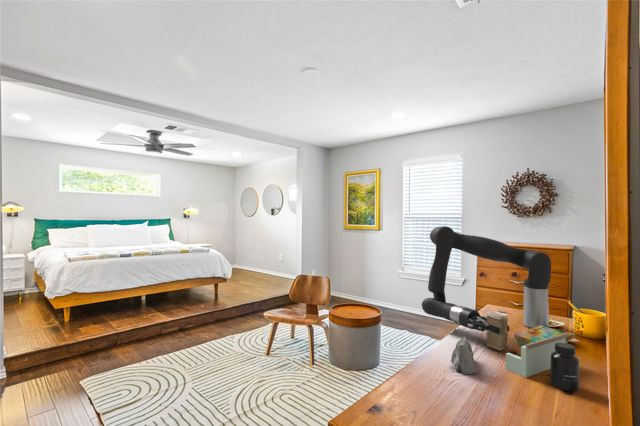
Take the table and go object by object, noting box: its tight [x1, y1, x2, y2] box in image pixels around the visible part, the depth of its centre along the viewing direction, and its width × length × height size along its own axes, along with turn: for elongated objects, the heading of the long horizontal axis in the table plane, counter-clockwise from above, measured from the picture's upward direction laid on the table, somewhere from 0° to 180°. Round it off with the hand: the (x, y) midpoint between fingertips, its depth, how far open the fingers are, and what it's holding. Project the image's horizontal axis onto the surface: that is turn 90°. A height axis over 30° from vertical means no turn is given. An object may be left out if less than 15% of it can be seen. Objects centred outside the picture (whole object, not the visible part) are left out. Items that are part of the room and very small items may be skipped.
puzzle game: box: [513, 326, 575, 346], centre depth 130 cm, size 12×5×20 cm
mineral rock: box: [450, 336, 476, 375], centre depth 111 cm, size 13×11×10 cm
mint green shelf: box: [505, 332, 569, 378], centre depth 112 cm, size 22×9×10 cm, turn 117°
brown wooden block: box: [486, 310, 509, 351], centre depth 124 cm, size 5×5×12 cm
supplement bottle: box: [549, 342, 580, 393], centre depth 98 cm, size 7×7×12 cm
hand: (504, 329), depth 121 cm, fingers closed on brown wooden block, 4 cm apart
